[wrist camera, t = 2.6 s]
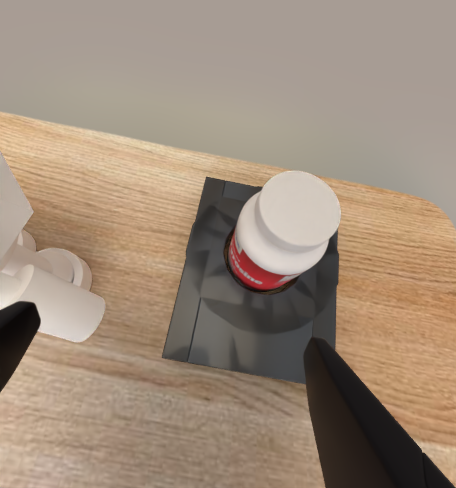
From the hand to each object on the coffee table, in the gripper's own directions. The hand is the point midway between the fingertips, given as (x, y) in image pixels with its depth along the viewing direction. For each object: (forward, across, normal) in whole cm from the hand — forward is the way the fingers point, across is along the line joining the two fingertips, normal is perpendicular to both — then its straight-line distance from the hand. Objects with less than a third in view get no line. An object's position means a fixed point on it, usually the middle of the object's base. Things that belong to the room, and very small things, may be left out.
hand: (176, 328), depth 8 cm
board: (+13, -5, +7) cm, 16 cm away
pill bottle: (+14, -5, +7) cm, 17 cm away
